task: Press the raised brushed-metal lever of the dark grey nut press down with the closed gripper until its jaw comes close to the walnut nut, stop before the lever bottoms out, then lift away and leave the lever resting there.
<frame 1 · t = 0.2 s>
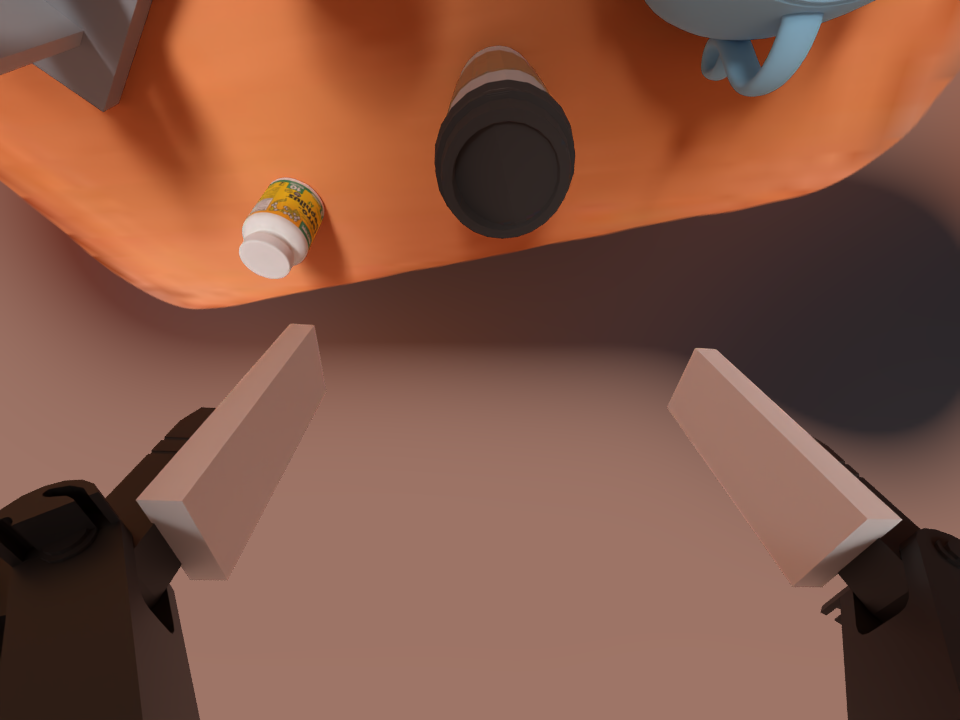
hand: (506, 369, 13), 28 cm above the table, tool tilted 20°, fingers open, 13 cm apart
coffee cup: (496, 93, 30), on the table
supplement bottle: (298, 201, 37), on the table
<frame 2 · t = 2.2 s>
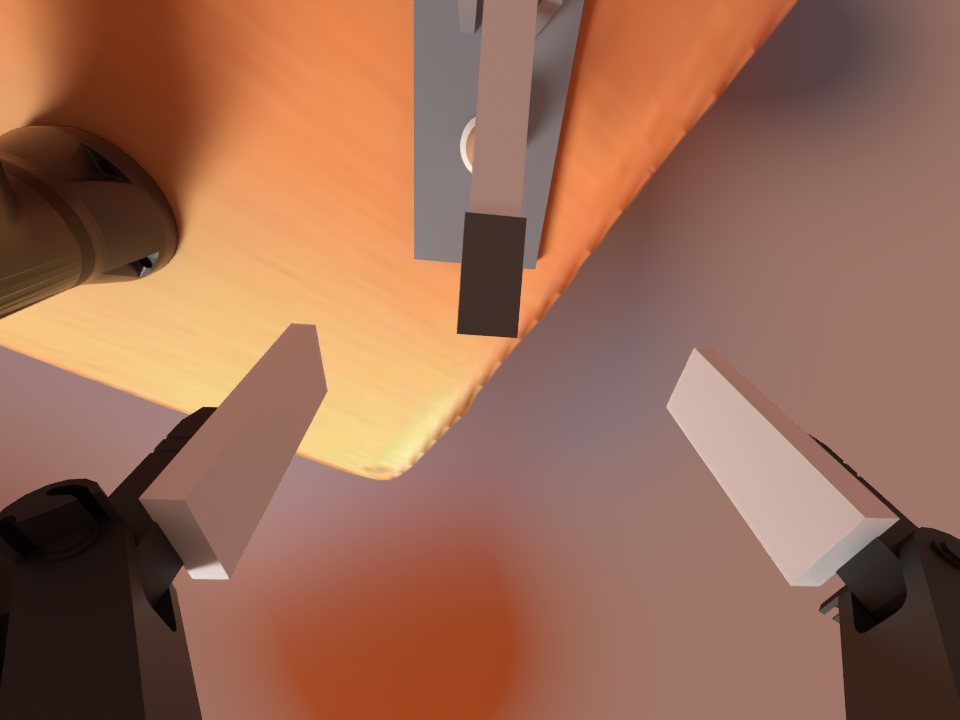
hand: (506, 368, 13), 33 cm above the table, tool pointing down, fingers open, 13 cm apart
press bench: (486, 131, 37), on the table
press lever: (498, 147, 22), point 18 cm above the table, hinge at -28.0°
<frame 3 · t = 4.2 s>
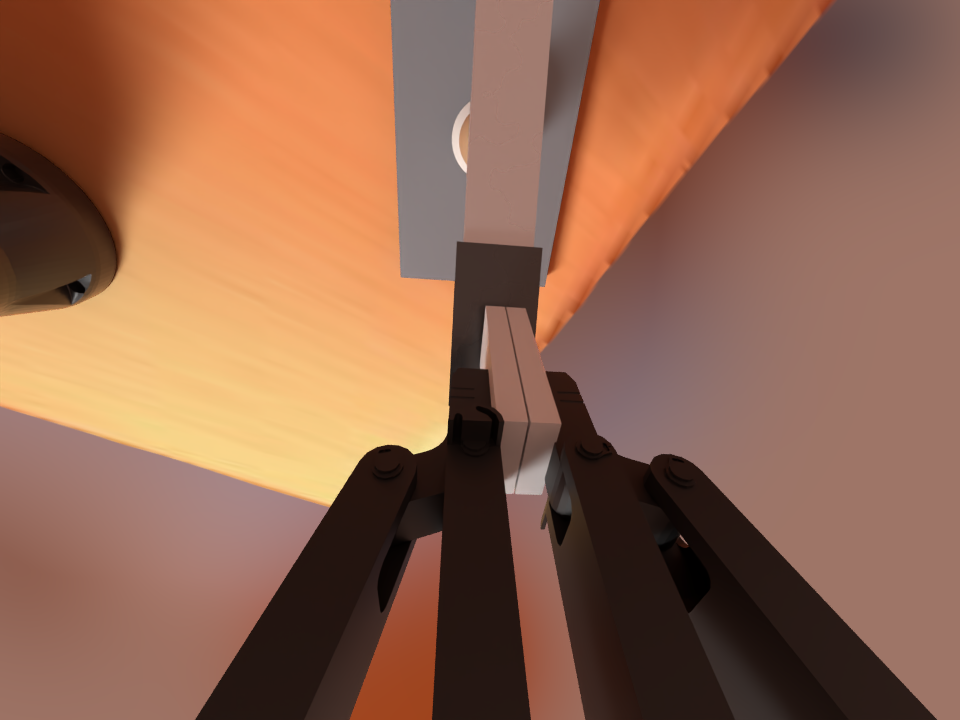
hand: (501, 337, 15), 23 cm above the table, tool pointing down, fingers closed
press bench: (485, 122, 30), on the table
press lever: (502, 144, 16), point 17 cm above the table, hinge at -24.7°, touching gripper
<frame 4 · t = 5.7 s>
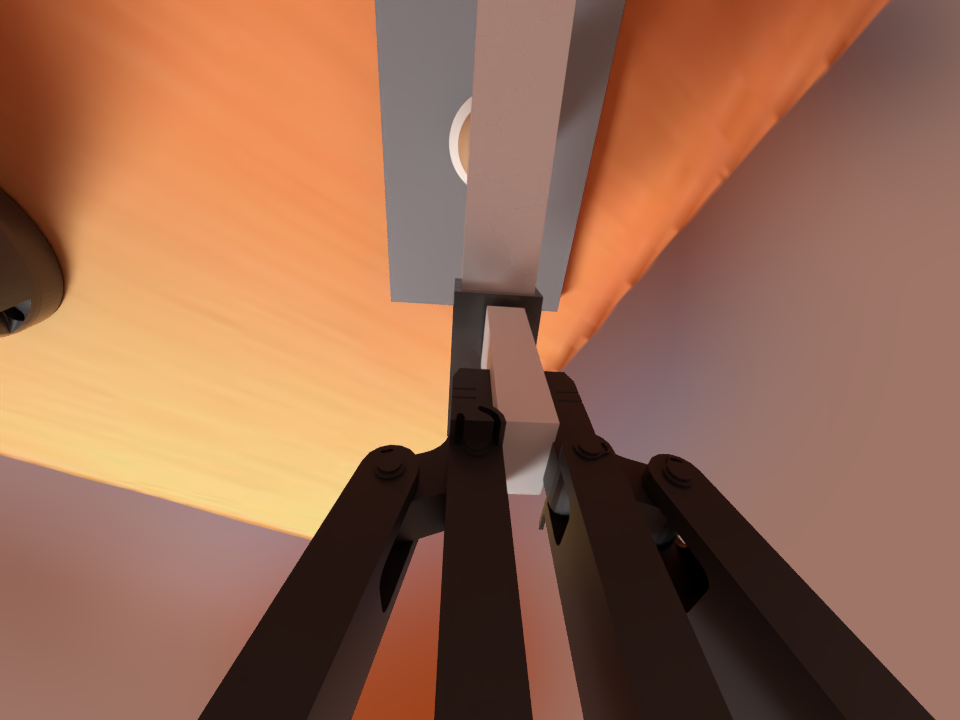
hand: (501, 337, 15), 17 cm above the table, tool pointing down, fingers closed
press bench: (489, 122, 25), on the table
press lever: (506, 171, 14), point 14 cm above the table, hinge at -8.7°, touching gripper
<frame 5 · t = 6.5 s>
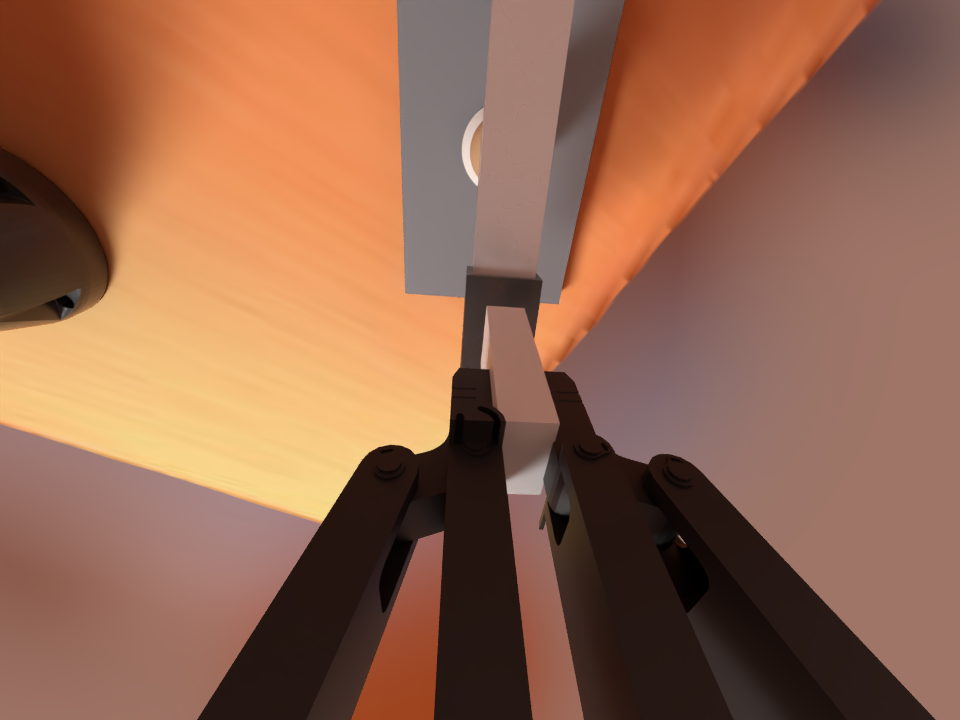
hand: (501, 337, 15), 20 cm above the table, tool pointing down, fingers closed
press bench: (497, 130, 28), on the table
press lever: (512, 173, 17), point 14 cm above the table, hinge at -8.7°
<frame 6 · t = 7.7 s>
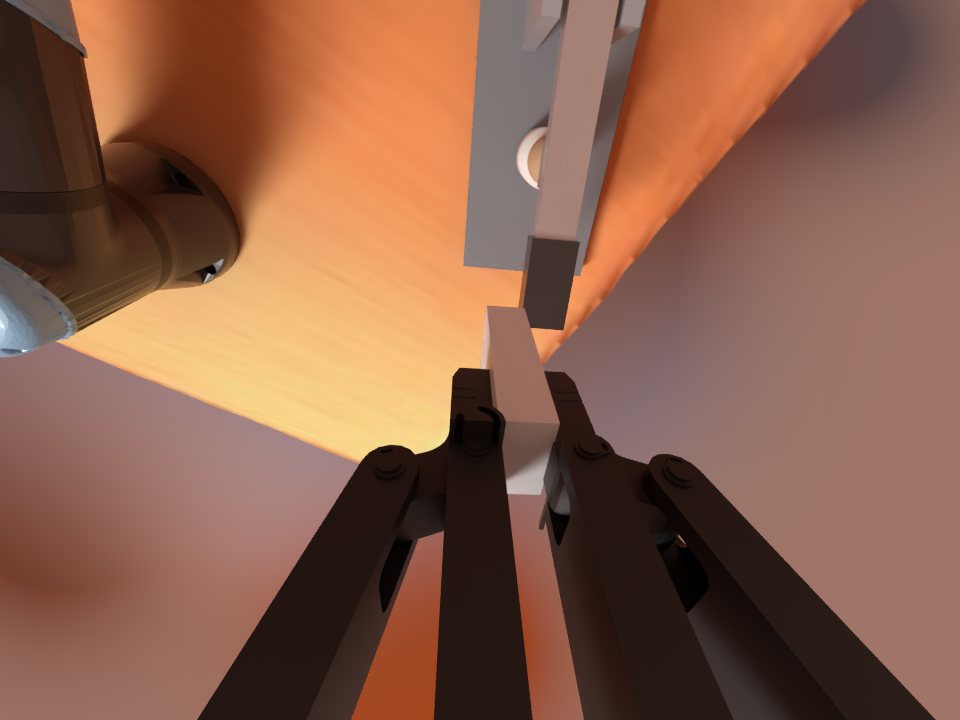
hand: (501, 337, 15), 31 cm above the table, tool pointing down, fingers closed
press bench: (539, 143, 38), on the table
press lever: (562, 174, 27), point 14 cm above the table, hinge at -8.7°
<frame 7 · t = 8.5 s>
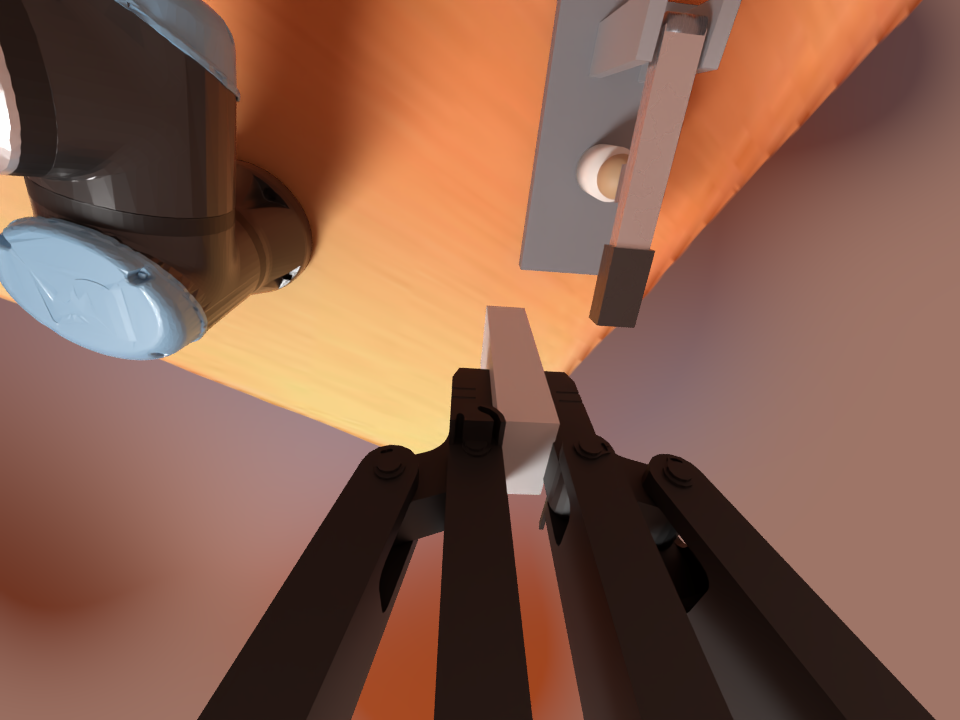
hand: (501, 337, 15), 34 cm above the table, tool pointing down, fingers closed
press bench: (595, 158, 42), on the table
press lever: (640, 192, 31), point 14 cm above the table, hinge at -8.7°
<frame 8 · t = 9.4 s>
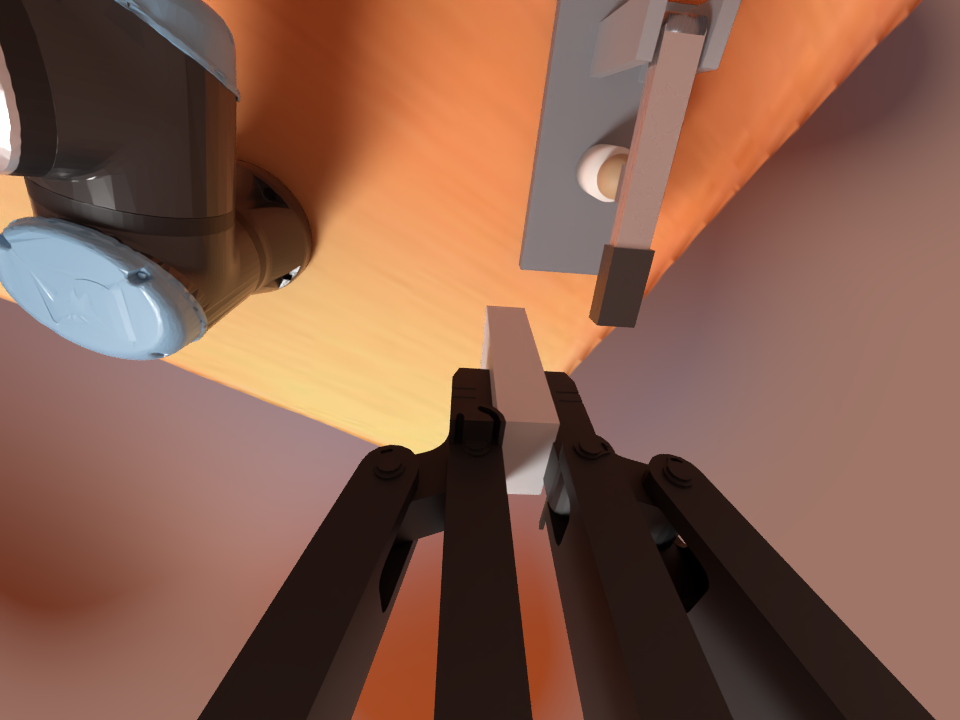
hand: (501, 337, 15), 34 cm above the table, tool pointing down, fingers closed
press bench: (595, 158, 42), on the table
press lever: (640, 192, 31), point 14 cm above the table, hinge at -8.7°
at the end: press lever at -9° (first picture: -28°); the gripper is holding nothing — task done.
